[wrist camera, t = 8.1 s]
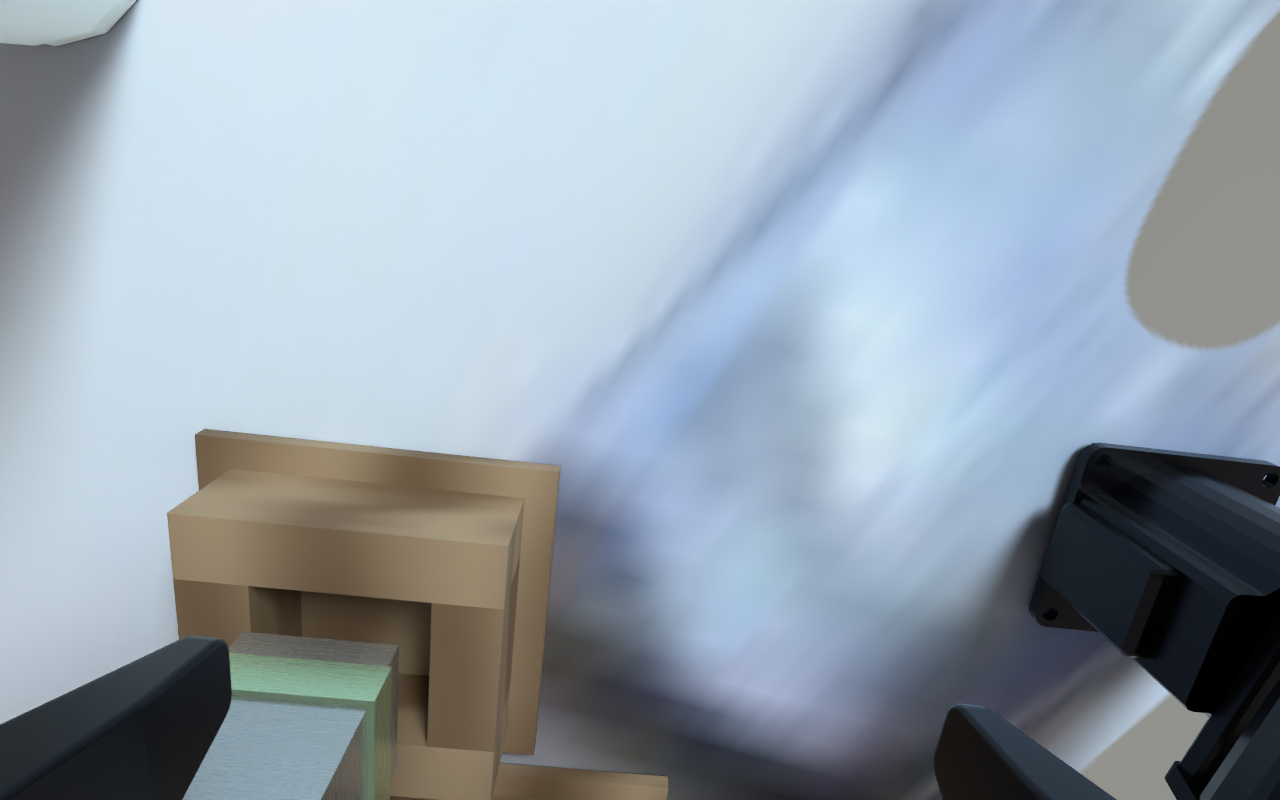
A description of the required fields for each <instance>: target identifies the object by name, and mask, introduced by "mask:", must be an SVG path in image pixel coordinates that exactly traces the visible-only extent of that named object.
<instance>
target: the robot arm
mask: <svg viewBox="0 0 1280 800" xmlns="http://www.w3.org/2000/svg"><path fill="white" fill-rule="evenodd" d="M1101 455H1102V460H1101V461H1100V462H1099V463H1098V464H1096V465H1095V460H1096V459H1097V458H1098V457H1099V456H1101ZM1266 475H1267V477H1266V478H1265V479H1264V480H1263V478H1264V477H1265V476H1266ZM1262 480H1263V481H1262ZM1279 496H1280V467H1279V466H1277V465H1275V464H1272V463H1270V462H1267V461H1261V460H1251V459H1242V458H1233V457H1224V456H1215V455H1206V454H1197V453H1187V452H1178V451H1169V450H1160V449H1151V448H1142V447H1133V446H1123V445H1114V444H1105V443H1093V444H1091V445H1088V446H1087V447H1086V448H1084V449H1083V450H1082V452H1081V454H1080V455H1079V458H1078V461H1077V464H1076V467H1075V470H1074V473H1073V476H1072V479H1071V482H1070V485H1069V488H1068V491H1067V494H1066V497H1065V500H1064V503H1063V506H1062V509H1061V511H1060V514H1059V517H1058V520H1057V523H1056V526H1055V529H1054V532H1053V535H1052V538H1051V541H1050V544H1049V547H1048V550H1047V553H1046V556H1045V559H1044V562H1043V565H1042V568H1041V571H1040V576H1039V579H1038V582H1037V585H1036V588H1035V591H1034V594H1033V597H1032V600H1031V603H1030V606H1029V612H1030V614H1031V616H1032V617H1033V618H1034V619H1035V620H1036V621H1037V622H1038V623H1039V624H1040V625H1042V626H1046V627H1054V628H1065V629H1075V630H1086V631H1096V632H1100V633H1101V634H1102V635H1103V636H1104V637H1105V638H1106V639H1107V640H1108V641H1109V642H1110V643H1111V644H1112V645H1113V646H1114V647H1116V648H1117V649H1118V650H1119V651H1120V652H1121V653H1122V654H1123V655H1125V656H1127V657H1132V658H1133V659H1134V660H1135V661H1136V662H1137V663H1138V664H1139V665H1140V666H1141V667H1143V668H1144V669H1145V670H1146V671H1147V672H1148V673H1149V674H1150V675H1151V676H1152V677H1153V678H1154V679H1155V680H1157V681H1158V682H1159V683H1160V684H1161V685H1162V686H1163V687H1164V688H1165V689H1166V690H1167V691H1168V692H1169V693H1171V694H1172V695H1173V696H1174V697H1175V698H1176V699H1177V700H1178V701H1179V702H1180V703H1181V704H1183V706H1184V707H1186V708H1187V709H1188V710H1190V711H1193V712H1202V713H1204V714H1206V715H1207V716H1208V717H1209V719H1208V720H1207V722H1206V723H1205V725H1204V726H1203V728H1202V729H1201V731H1200V732H1199V734H1198V735H1197V737H1196V739H1195V740H1194V742H1193V743H1192V745H1191V746H1190V748H1189V749H1188V751H1187V752H1186V754H1185V755H1184V757H1183V758H1182V760H1181V761H1175V762H1174V764H1173V765H1172V767H1171V768H1170V770H1169V771H1168V773H1167V774H1166V776H1165V780H1166V782H1167V783H1168V785H1169V787H1170V789H1171V790H1172V792H1173V794H1174V796H1175V797H1176V799H1177V800H1280V508H1279V507H1277V506H1275V505H1276V502H1277V500H1278V498H1279ZM1048 608H1051V609H1050V610H1049V611H1048V612H1046V613H1044V611H1045V610H1046V609H1048ZM231 698H232V687H231V672H230V658H229V648H228V645H227V643H226V641H225V640H223V639H221V638H215V637H204V636H188V637H185V638H182V639H180V640H178V641H176V642H174V643H172V644H170V645H168V646H165V647H163V648H161V649H159V650H157V651H155V652H153V653H151V654H149V655H146V656H144V657H142V658H140V659H138V660H136V661H134V662H132V663H130V664H127V665H125V666H123V667H121V668H119V669H117V670H115V671H113V672H110V673H108V674H106V675H104V676H102V677H100V678H98V679H96V680H94V681H91V682H89V683H87V684H85V685H83V686H81V687H79V688H77V689H75V690H72V691H70V692H68V693H66V694H64V695H62V696H60V697H58V698H56V699H53V700H51V701H49V702H47V703H45V704H43V705H41V706H39V707H37V708H34V709H32V710H30V711H28V712H26V713H24V714H22V715H20V716H17V717H15V718H13V719H11V720H9V721H7V722H5V723H3V724H1V725H0V800H183V798H184V796H185V794H186V792H187V790H188V788H189V786H190V784H191V783H192V781H193V779H194V777H195V775H196V773H197V771H198V769H199V767H200V765H201V763H202V762H203V760H204V758H205V756H206V754H207V752H208V750H209V748H210V746H211V744H212V743H213V741H214V739H215V737H216V735H217V733H218V731H219V729H220V727H221V725H222V723H223V722H224V720H225V718H226V716H227V713H228V711H229V708H230V704H231ZM934 770H935V775H936V779H937V782H938V785H939V788H940V792H941V795H942V798H943V800H1116V799H1115V798H1113V797H1112V796H1110V795H1109V794H1108V793H1106V792H1105V791H1104V790H1102V789H1101V788H1100V787H1098V786H1097V785H1095V784H1094V783H1093V782H1091V781H1090V780H1088V779H1087V778H1086V777H1084V776H1083V775H1081V774H1080V773H1079V772H1077V771H1076V770H1074V769H1073V768H1072V767H1070V766H1069V765H1067V764H1066V763H1065V762H1063V761H1062V760H1060V759H1059V758H1058V757H1056V756H1055V755H1053V754H1052V753H1051V752H1049V751H1048V750H1046V749H1045V748H1044V747H1042V746H1041V745H1039V744H1038V743H1037V742H1035V741H1034V740H1032V739H1031V738H1030V737H1028V736H1027V735H1025V734H1024V733H1023V732H1021V731H1020V730H1018V729H1017V728H1016V727H1014V726H1013V725H1011V724H1010V723H1009V722H1007V721H1006V720H1005V719H1003V718H1002V717H1000V716H999V715H998V714H996V713H995V712H993V711H992V710H991V709H989V708H987V707H985V706H980V705H970V704H954V705H952V706H951V707H950V708H949V709H948V712H947V714H946V718H945V721H944V724H943V727H942V731H941V734H940V737H939V740H938V744H937V747H936V750H935V754H934Z"/></svg>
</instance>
